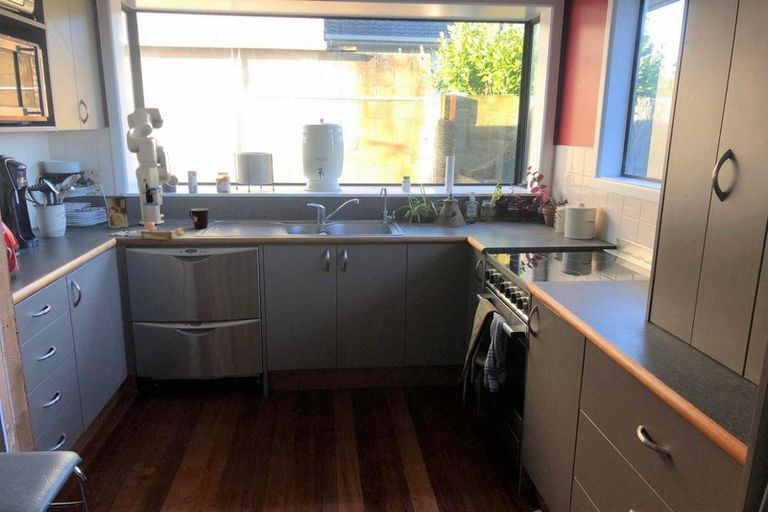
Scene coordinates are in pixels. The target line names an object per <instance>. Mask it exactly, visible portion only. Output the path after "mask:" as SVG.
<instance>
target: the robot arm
mask: <svg viewBox="0 0 768 512" xmlns="http://www.w3.org/2000/svg"><path fill="white" fill-rule="evenodd" d="M126 119H127V120H126V121H127V125H128V128H129V130H128V131H127V133H126V146H127V149H128V151H129V153H132V154H135V155H136V160H137V162H138V163H139V164H140V166H139V167H137V168H136V170H135V177H136V181H137V186H138V192H139V200H140V202H139V203H140V211H141V212H140V213H141V219H142V220H140V221H139V225H140V224H141V226H144V222H155V224H157V225H162V224H164V223H165V221H164V220H163V219H162V218H164V214H162V213H161V207H160V206H161V205H159V206H148V205H143V196H142V189H143V190H144V192H145V195H146V202H147V203H153V195H151V194H152V188H154V187H160V184H165V183H169V182H170V181H171V167H170V166H171V165H170V159H169V153H168V150H167V148H166V147H165V146H160V143H159V140H158V139H157V138H156V137H153V136H150V135H151V134H152V133H153V130H159V129H161V128H162V127H163V125H164V120H165V118H164V114H163V111H162V110H161V109H160V108H157V107H138V108H136V109H135V110H134V111H133V112H131V113H129V114H128V115H127V117H126ZM147 187H149V188H147ZM147 189H148V190H147ZM161 223H162V224H161Z"/></svg>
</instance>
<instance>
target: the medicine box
mask: <svg viewBox="0 0 768 512" xmlns="http://www.w3.org/2000/svg"><path fill="white" fill-rule="evenodd" d="M147 188H149V187H147ZM147 190H148V189H147ZM151 195H153V203H147V202H146V195H145V192H144V190H143V189H142V196H143V205H148V206H162V205H163V195H162V187H160V186H159V187H154V188H152V194H151Z"/></svg>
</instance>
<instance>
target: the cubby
mask: <svg viewBox="0 0 768 512" xmlns="http://www.w3.org/2000/svg"><path fill="white" fill-rule="evenodd" d="M141 231H142V232H141V237H140V238H141V239H142V238H143V239H142V240H169V241H170V240H174V239H176V238H178V236H179V237H181V236H184V235H185V227H183V226H181V227H178V228H175V229H173V230H170V231H160V230H159V226H155V227H153V228H150V229H147V230H145V229H143V230H141ZM183 234H184V235H183Z"/></svg>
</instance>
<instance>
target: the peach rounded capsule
mask: <svg viewBox="0 0 768 512" xmlns="http://www.w3.org/2000/svg"><path fill="white" fill-rule="evenodd" d="M143 227H144V229H143V230H147V229H150V228H153V227H156V226H155V222H144V225H143Z"/></svg>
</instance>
